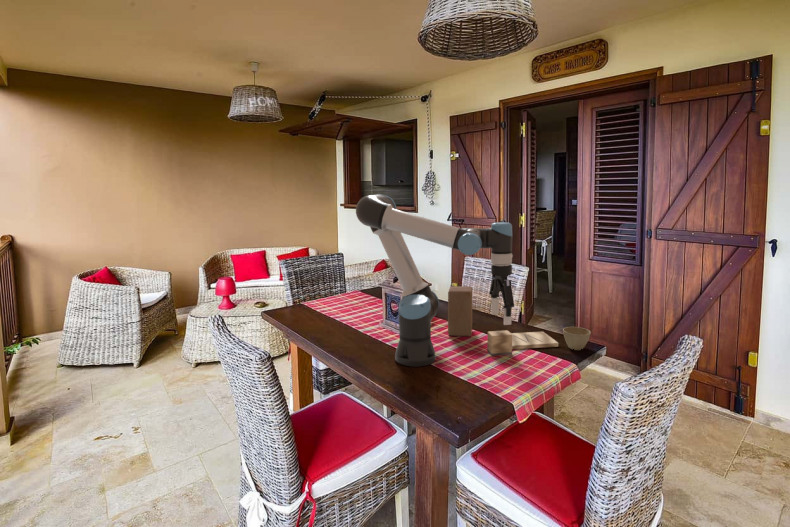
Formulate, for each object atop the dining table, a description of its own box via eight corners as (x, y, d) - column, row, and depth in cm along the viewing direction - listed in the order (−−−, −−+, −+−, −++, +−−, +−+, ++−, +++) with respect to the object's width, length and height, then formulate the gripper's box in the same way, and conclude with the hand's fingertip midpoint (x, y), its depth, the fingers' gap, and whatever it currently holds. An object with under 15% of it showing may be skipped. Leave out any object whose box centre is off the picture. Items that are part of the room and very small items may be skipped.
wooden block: (471, 337, 189) (471, 291, 185) (447, 336, 191) (447, 290, 187) (472, 329, 199) (472, 286, 195) (449, 328, 201) (449, 285, 197)
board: (509, 349, 174) (509, 345, 174) (497, 337, 188) (497, 334, 188) (558, 346, 176) (558, 342, 176) (542, 334, 190) (543, 331, 190)
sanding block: (491, 355, 168) (491, 335, 167) (487, 351, 173) (487, 331, 172) (511, 354, 169) (512, 334, 168) (507, 349, 174) (507, 330, 173)
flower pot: (577, 354, 168) (578, 336, 167) (556, 346, 177) (557, 329, 175) (595, 349, 172) (596, 332, 171) (574, 341, 181) (575, 325, 180)
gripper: (524, 269, 153) (523, 328, 157) (499, 258, 178) (499, 309, 181) (503, 270, 152) (502, 330, 156) (481, 259, 177) (481, 310, 181)
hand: (501, 319), depth 169 cm, fingers open, 13 cm apart
